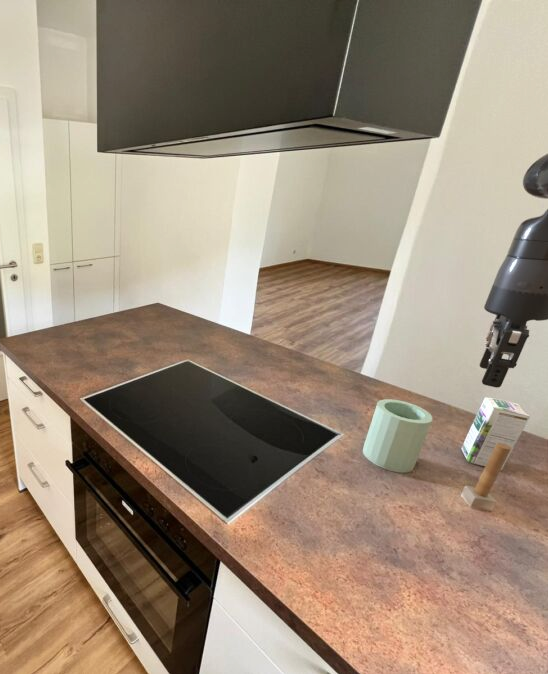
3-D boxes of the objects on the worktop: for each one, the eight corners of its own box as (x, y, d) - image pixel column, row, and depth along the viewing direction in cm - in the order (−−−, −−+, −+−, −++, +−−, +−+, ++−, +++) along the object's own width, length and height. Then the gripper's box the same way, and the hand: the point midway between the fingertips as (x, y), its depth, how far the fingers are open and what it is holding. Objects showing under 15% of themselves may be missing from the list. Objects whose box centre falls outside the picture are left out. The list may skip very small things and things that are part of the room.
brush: (478, 505, 70) (509, 442, 65) (488, 517, 68) (521, 453, 62) (457, 501, 71) (486, 438, 66) (467, 513, 69) (498, 449, 63)
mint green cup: (403, 449, 86) (420, 403, 81) (421, 477, 78) (441, 426, 73) (357, 442, 89) (371, 396, 84) (370, 467, 80) (386, 418, 76)
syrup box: (459, 448, 86) (482, 395, 81) (494, 456, 83) (520, 402, 78) (467, 462, 81) (492, 407, 76) (503, 472, 79) (532, 415, 73)
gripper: (574, 299, 50) (525, 400, 56) (555, 281, 60) (515, 369, 65) (497, 290, 55) (459, 384, 61) (490, 275, 64) (459, 358, 70)
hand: (488, 376), depth 63 cm, fingers open, 8 cm apart
